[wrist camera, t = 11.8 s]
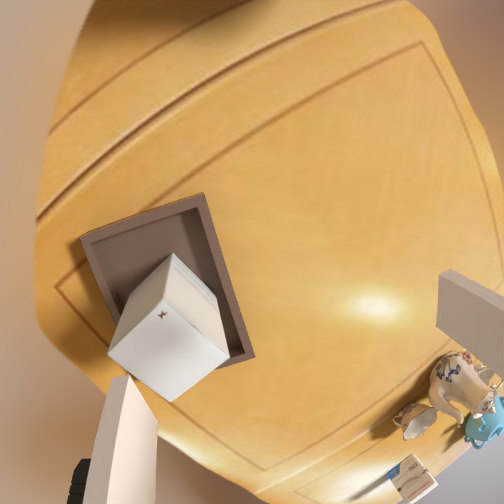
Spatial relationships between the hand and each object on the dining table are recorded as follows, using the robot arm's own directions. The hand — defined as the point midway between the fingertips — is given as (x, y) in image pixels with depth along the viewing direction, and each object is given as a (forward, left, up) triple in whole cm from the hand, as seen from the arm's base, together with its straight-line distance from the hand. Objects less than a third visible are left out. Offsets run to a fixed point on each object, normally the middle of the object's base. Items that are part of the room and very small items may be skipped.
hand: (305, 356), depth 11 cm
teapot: (+69, +53, -25) cm, 90 cm away
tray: (+5, -8, -25) cm, 27 cm away
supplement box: (+5, -8, -24) cm, 26 cm away
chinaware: (+41, +33, -25) cm, 58 cm away
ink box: (+70, +25, -25) cm, 78 cm away
